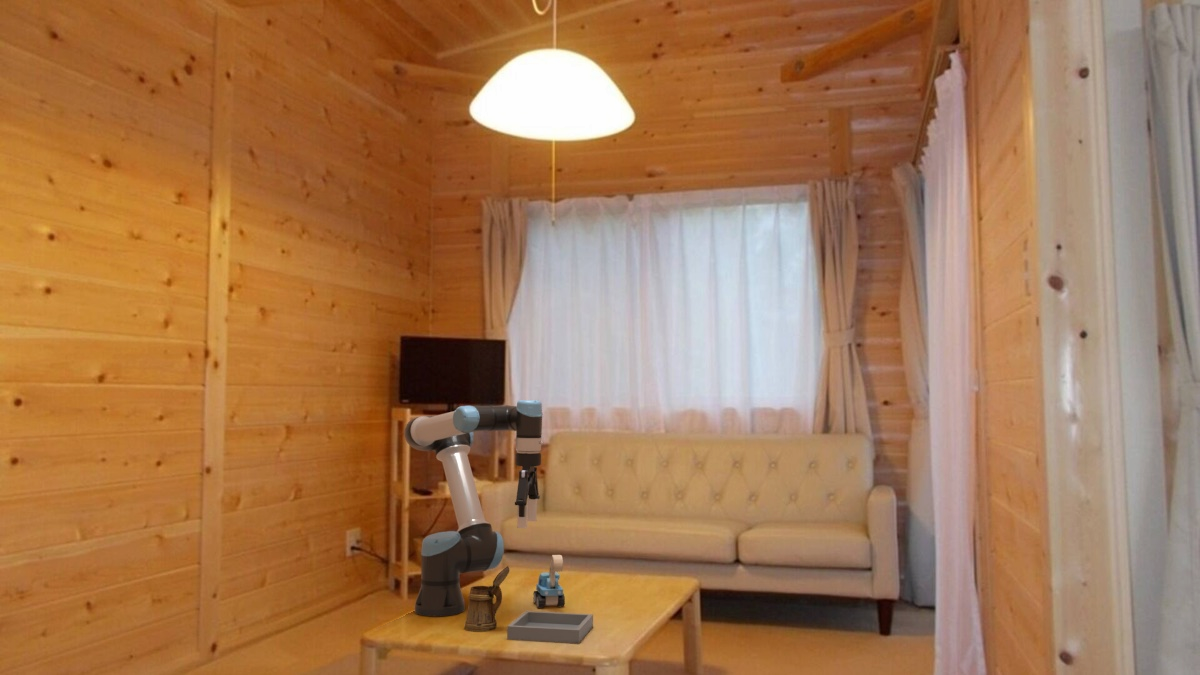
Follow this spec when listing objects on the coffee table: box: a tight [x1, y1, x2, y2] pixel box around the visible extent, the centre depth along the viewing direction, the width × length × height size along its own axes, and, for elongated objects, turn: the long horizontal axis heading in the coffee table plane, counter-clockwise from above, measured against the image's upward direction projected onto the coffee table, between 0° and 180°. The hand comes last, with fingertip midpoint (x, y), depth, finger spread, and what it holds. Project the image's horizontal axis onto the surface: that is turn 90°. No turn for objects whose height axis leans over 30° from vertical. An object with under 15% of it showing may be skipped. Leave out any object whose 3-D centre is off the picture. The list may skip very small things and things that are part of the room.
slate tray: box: [506, 610, 594, 645], centre depth 249 cm, size 20×18×4 cm
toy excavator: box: [532, 554, 566, 609], centre depth 280 cm, size 9×17×17 cm, turn 15°
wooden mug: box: [464, 565, 510, 632], centre depth 254 cm, size 9×14×18 cm, turn 66°
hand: (527, 524), depth 263 cm, fingers open, 13 cm apart
